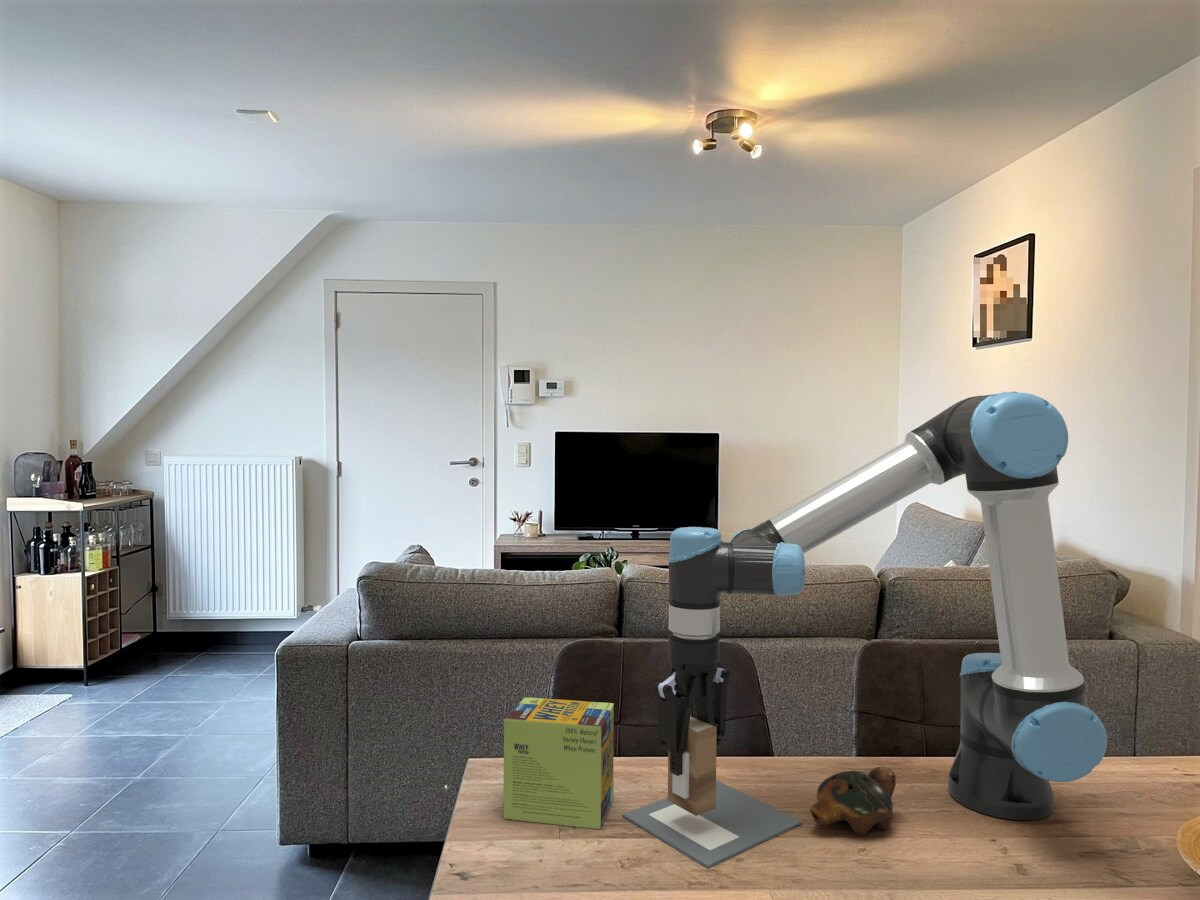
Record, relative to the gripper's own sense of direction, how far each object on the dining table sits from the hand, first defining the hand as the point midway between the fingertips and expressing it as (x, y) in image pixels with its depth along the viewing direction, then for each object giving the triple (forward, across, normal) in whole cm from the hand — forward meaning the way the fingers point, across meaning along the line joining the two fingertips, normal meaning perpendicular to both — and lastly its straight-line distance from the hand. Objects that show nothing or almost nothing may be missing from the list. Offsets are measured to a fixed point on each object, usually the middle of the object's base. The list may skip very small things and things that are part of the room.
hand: (692, 790), depth 117 cm
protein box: (+6, +12, -17) cm, 22 cm away
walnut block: (+2, 0, 0) cm, 2 cm away
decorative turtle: (+6, -20, +14) cm, 25 cm away
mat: (+6, -4, 0) cm, 7 cm away
